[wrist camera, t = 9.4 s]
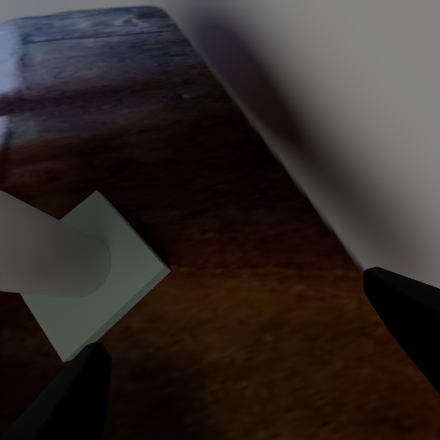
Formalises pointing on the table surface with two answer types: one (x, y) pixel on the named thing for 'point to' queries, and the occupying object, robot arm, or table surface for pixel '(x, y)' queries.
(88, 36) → the table surface
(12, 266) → the candle
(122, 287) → the stand
